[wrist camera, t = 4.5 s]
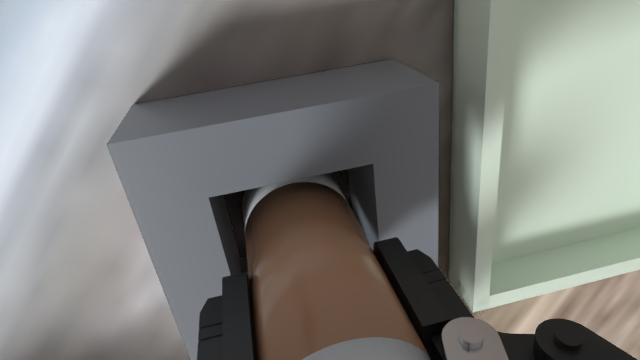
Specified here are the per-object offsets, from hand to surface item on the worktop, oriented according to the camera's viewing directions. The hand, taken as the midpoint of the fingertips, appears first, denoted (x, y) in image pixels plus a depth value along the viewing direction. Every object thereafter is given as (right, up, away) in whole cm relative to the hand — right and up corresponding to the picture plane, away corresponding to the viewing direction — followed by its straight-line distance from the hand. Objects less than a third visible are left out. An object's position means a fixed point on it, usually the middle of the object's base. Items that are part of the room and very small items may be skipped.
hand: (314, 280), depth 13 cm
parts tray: (+12, +6, +7) cm, 15 cm away
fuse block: (-1, -1, +7) cm, 7 cm away
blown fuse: (-1, +2, +4) cm, 5 cm away
